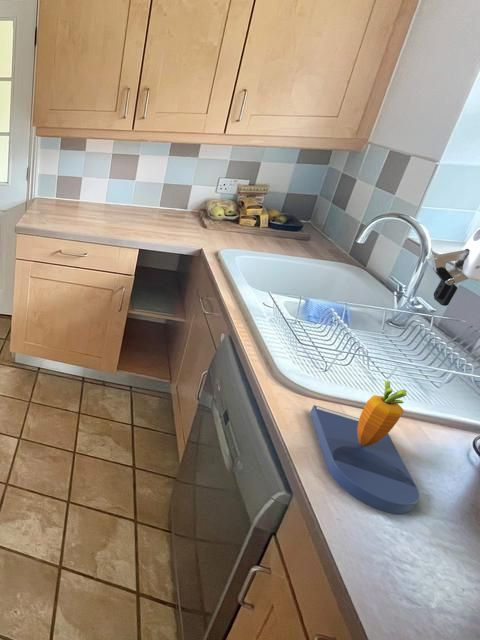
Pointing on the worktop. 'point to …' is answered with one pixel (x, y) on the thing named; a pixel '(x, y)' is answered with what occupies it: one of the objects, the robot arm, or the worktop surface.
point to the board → (364, 463)
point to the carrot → (379, 416)
